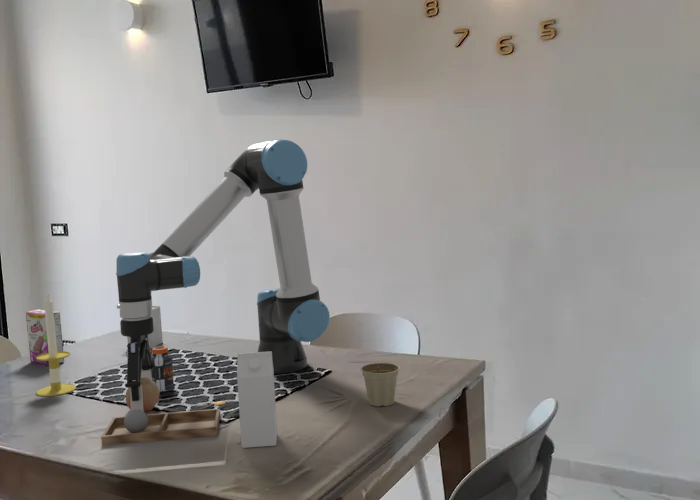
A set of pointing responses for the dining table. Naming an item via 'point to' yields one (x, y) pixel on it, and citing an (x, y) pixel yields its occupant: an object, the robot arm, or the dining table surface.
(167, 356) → the pill bottle
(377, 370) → the flower pot
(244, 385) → the milk carton
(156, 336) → the soap bottle
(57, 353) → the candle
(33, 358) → the candy bar box
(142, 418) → the grey ball
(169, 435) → the divided wooden tray
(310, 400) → the dining table surface
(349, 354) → the dining table surface
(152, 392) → the fruit
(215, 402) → the tile
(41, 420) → the dining table surface
